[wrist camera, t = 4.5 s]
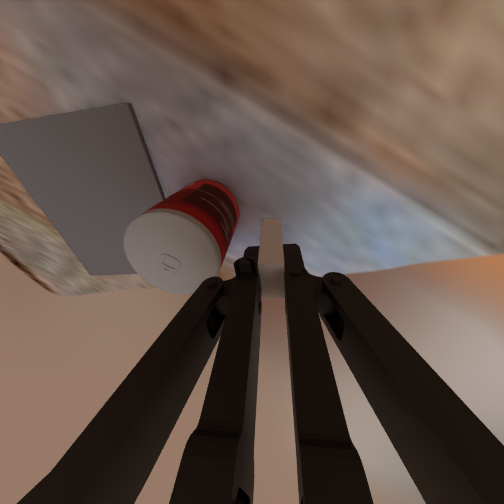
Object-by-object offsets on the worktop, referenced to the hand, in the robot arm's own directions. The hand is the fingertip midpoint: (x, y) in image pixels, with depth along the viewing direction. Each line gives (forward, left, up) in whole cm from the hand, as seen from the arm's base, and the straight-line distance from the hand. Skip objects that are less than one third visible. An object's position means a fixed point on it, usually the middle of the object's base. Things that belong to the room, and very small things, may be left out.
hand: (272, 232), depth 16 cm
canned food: (0, -8, -8) cm, 11 cm away
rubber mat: (-1, -22, -7) cm, 24 cm away
